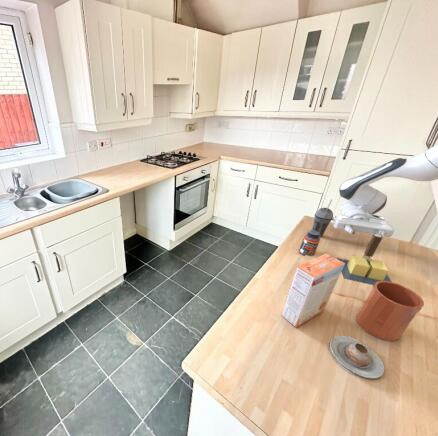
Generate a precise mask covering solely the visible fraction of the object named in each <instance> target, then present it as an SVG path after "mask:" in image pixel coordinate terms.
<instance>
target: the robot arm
mask: <svg viewBox="0 0 438 436" xmlns="http://www.w3.org/2000/svg"><path fill="white" fill-rule="evenodd" d="M390 177H391V178H393V177H394V178H401V179H408V180H411V181H416V182H432V181H436V180H438V143H437V144H435V145H433V146H432V147H430V148H428V149H427V150H425V151H423V152H421V153H418V154H416V155H412V156H410V157H398V158H395V159H392V160H390V161H388V162H386V163H382V164H381V165H379V166H377V167H375V168H372V169H370V170H368V171H367V172H364V173H361V174H360V175H358V176H354V177H352V178H349V179H347V180H345V181H344V182H342V183H341V184H340V186H339V187H338V192H339V196H340V198H342V199H345V201H343V202H342V203H341V204H340V207H339V213H340V215H336V216H335V215H334V216H333V218H332V220H331V221H333V222H332V225H333V228H334V229H336V230H341V231H346V232H348V234H349V235H355V233H359V234H367V235H372V236H373V235H374V234H378V235H381V236H382V239H381V240H384V238H390V237H392V236H393V235H394V232H395V229H394V227H393V226H392V225H391V224H390V223H389V222H388V221H386V218H384V216H380V215H377V213H379V212H380V211H381V210H383V209H384V208H385V207H386V205H387V202H388V196H387V194H385V193H384V192H382V191H380V190H379V189H377V188H375V187H373V186H371V184H373V183H376V182H378V181H380V180H383V179H385V178H390Z"/></svg>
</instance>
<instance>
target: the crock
mask: <svg viewBox="0 0 438 436" xmlns="http://www.w3.org/2000/svg"><path fill="white" fill-rule="evenodd" d="M424 302H425V301H424V300H423V298H422V297H421V296H420V295H419V294H418V293H417V292H416V291H413V290H412V289H410V288H409V287H407V286H404V285H402V284H400V283H396V282H393V281H392V282H389V281H378V282H376V283H375V284H374V285H372V287H371V289H370V291H369V293H368V294H367V296H366V298H365V300H364V301H363V303H362V305H361V306H360V308H359V310H358V312H357V313H356V316H355V320H356V322H357V325H359V327H360V328H361V329H362V330H363V331H364V332H366V333H367V334H369V335H371V336H372V337H375V338H377V339H379V340H382V341H386V342H395V341H397V340H399V338H400V337H402V336H403V334H404V333H405V331H406V330H407V328H408V327H409V326H410V325H411V323H412V322H413V321H414V319H415V318H416V317H417V315H418V313H420V311H421V310H422V309H423V308H424V306H425V303H424Z"/></svg>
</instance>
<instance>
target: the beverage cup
mask: <svg viewBox="0 0 438 436" xmlns="http://www.w3.org/2000/svg"><path fill="white" fill-rule="evenodd" d="M332 202H333V199H330V201H329V203H328V205H327V207H321V208H318V209H317V210H316V211H315V213H314V219H313V224H312V228H311V230H315V231H317V232H319V233H320V234H319V238H322V237H323V236H324V234H325V232H326V231H327V228H328V226H329V225H330V223H331V221H333V220H332V218H333V217H334V213H333V211H332V209H330V206H331V203H332Z"/></svg>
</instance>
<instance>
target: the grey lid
mask: <svg viewBox="0 0 438 436" xmlns="http://www.w3.org/2000/svg"><path fill="white" fill-rule="evenodd" d="M329 348H330V351H331V353H332V354H333V356H334V358H335V359H336V360H337V361H338V362H339V364H341V365H342V366H343V367H344V368H345V369H347V370H348V371H350V372H352V373H353V374H354V375H356V376H358V377H360V378H364V379H378V378H380V377H382V376H383V375H384V374H385V365H384V362H383V360H381V357H380V356H379V355H378V354H377V353H376V352H375V350H373V348H371V346H368V345H367V344H366V343H364V342H362V341H361V340H358V339H356V338H354V337H352V336H348V335H336V336H334V337H332V338H331V339H330V341H329Z"/></svg>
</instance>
